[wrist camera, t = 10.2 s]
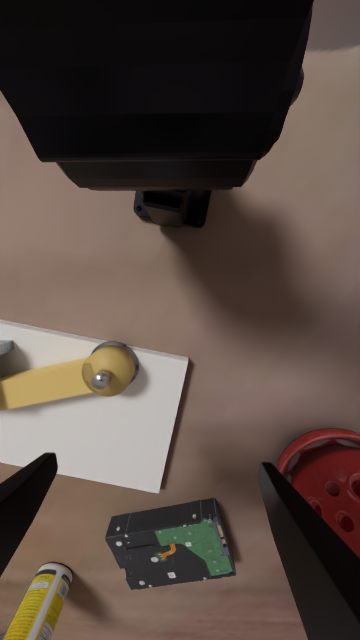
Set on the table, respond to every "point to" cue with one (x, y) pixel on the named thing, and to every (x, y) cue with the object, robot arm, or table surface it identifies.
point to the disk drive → (171, 545)
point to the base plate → (92, 413)
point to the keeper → (6, 346)
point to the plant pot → (328, 478)
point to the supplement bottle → (41, 604)
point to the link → (67, 379)
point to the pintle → (104, 376)
